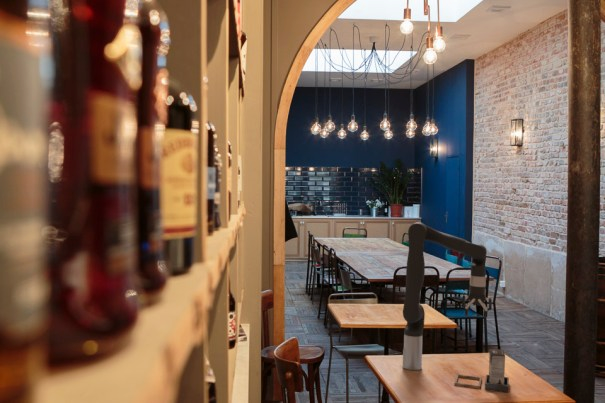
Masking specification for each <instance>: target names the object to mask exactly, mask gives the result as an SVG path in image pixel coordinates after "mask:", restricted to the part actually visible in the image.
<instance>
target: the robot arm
mask: <svg viewBox="0 0 605 403" xmlns="http://www.w3.org/2000/svg"><path fill="white" fill-rule="evenodd" d="M407 233H408V234H407V236H408V253H407V259H406V261H407V262H406V271H405V273H406V274H405V295H404V303H403V307H402V308H403V309H402V316H403V319H404V321H406V325H405V327H404V331H403V332H404V334H403V349H402V369H405V370H408V371H420V370H422V368H423V367H422V366H423V363H422V362H423V333H424V328H425V314H426V313H425V309H424V307H423V305H422V304H421V303H420V294H421V292H422V291H421V290H422V288H423V285H424V281H425V274H426V273H425V271H426V269H425V267H426V265H425V255H424V245H425V241H426V242H432V243H435V244H438V245H439V246H442V247H444V248H446V249H448V250H450V251H454V252H457V253H459V254H462V255H463V254H464V255H466V256H468V257H470V258H471V267H470V277H469V292H468V293H469V294H468V295H466V294H462V298H461V308H464V315H465V316H466V317H469V307H470V306H472V305H473V306H481V307H482V308H483V309H484V312H483V313H484V315H483V319H486V318H488V312H489V311H491V310H492V309H493V306H492V305H493V304H492V300H493V299H492V297H490V296H489V297H486V286H487V282H486V281H487V280H486V279H487V278H486V275H487V273H486V272H487V270H486V269H487V268H486V267H487V266H486V263H487V248H486V247H485V245H483V244H479V243H477V244H476V243H474V242H470V241H468V240H466V239H464V238H461V237H458V236H456V235H452V234H448V233H446V232H445V233H444V232H441V231H439V230H436V229H434V228H432V227H431V226H428V225H426V224H424V222H420V221H417V222H414V223H412V224H411V225H410V226H409V227H408V231H407ZM467 299H468V300H469V302H468V303H467V304H465V303H466V301H467ZM485 302H487V303H488V307H487V306H486V304H485Z"/></svg>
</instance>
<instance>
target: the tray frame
mask: <svg viewBox="0 0 605 403" xmlns="http://www.w3.org/2000/svg"><path fill="white" fill-rule="evenodd" d="M459 378H462V379H470V380H477V381H478V385H476V384H468V383H463V382H458V381H459ZM482 379H483V378H482V376H475V375H468V374H467V375H466V374H459V373H457V374H456V377H455V380H454V386H456V387H463V386H464V388H470V387H471V389H479V390H480V389H481V386H482Z"/></svg>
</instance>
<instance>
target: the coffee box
mask: <svg viewBox="0 0 605 403" xmlns="http://www.w3.org/2000/svg"><path fill="white" fill-rule="evenodd" d="M488 352H489V353H488V358H489V360H488V375H489V384H497V385H504V377H505V372H506V371H505V370H506V369H505V367H506V354H505V352H504V350H503V349H493V348H491V349H490V348H489V351H488Z"/></svg>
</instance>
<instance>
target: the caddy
mask: <svg viewBox="0 0 605 403" xmlns="http://www.w3.org/2000/svg"><path fill="white" fill-rule="evenodd" d="M509 380H510V379H509V377H506V376H504V385H497V384H489V374H486V375H485V382H484V390H485V391H492V392H496V393H497V392H498V393H507V394H509V385H510V384H509Z"/></svg>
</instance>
